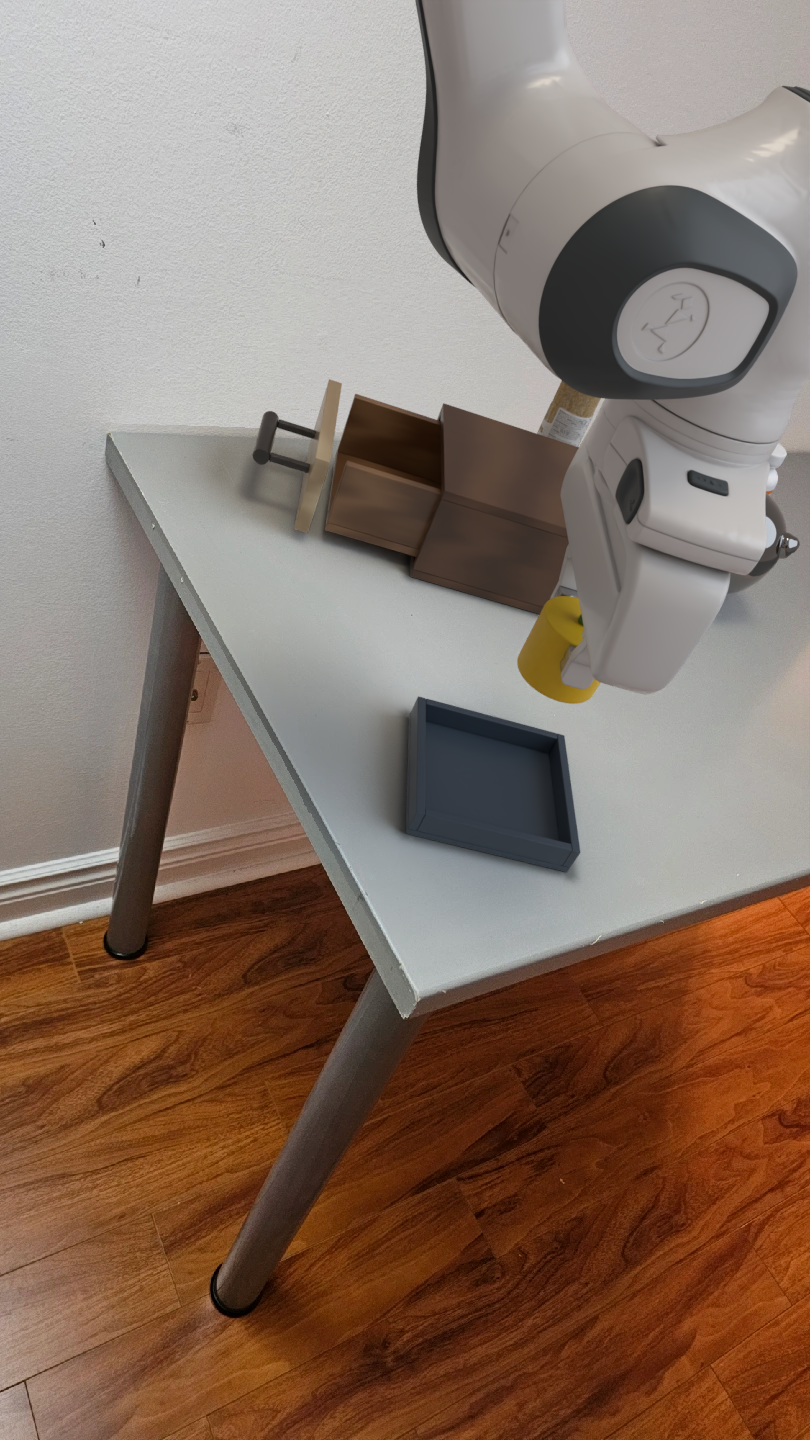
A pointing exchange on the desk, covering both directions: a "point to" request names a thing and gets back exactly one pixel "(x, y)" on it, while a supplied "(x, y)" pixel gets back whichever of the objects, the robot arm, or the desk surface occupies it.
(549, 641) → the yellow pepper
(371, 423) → the drawer
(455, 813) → the tray
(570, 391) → the sprinkles bottle
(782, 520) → the piggy bank
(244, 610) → the desk surface
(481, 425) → the cabinet
